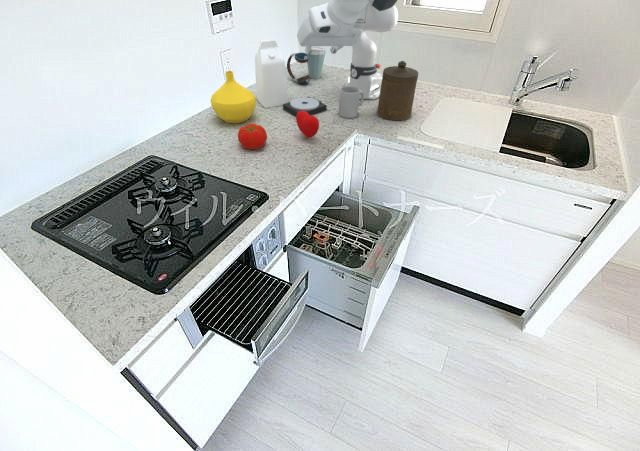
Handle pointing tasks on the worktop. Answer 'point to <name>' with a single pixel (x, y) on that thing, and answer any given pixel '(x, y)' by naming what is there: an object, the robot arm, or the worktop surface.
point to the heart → (307, 124)
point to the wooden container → (397, 92)
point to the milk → (270, 75)
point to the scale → (305, 106)
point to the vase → (233, 101)
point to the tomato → (252, 136)
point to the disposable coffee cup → (316, 62)
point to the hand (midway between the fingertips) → (320, 52)
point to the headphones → (301, 59)
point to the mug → (350, 101)
